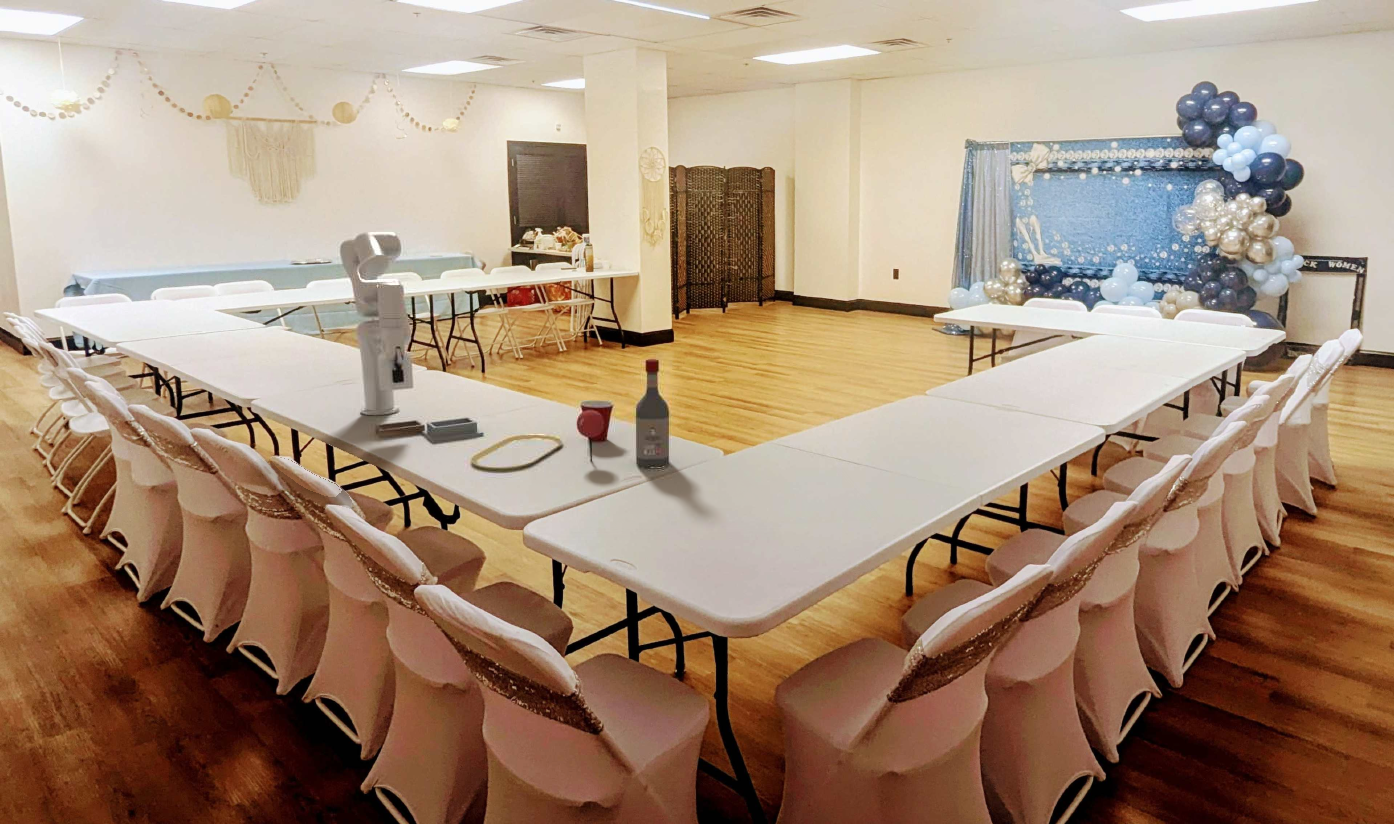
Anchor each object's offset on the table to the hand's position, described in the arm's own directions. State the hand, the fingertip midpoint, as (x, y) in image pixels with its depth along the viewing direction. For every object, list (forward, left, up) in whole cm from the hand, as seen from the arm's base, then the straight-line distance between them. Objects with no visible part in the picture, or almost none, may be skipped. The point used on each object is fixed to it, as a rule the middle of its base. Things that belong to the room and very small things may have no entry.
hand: (396, 380), depth 283 cm
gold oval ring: (+41, +24, -18) cm, 50 cm away
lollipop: (+59, +38, -17) cm, 72 cm away
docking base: (+11, +13, -17) cm, 24 cm away
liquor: (+70, +52, -17) cm, 89 cm away
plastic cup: (+39, +50, -17) cm, 66 cm away
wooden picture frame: (0, 0, -17) cm, 17 cm away
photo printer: (0, 0, -3) cm, 3 cm away
